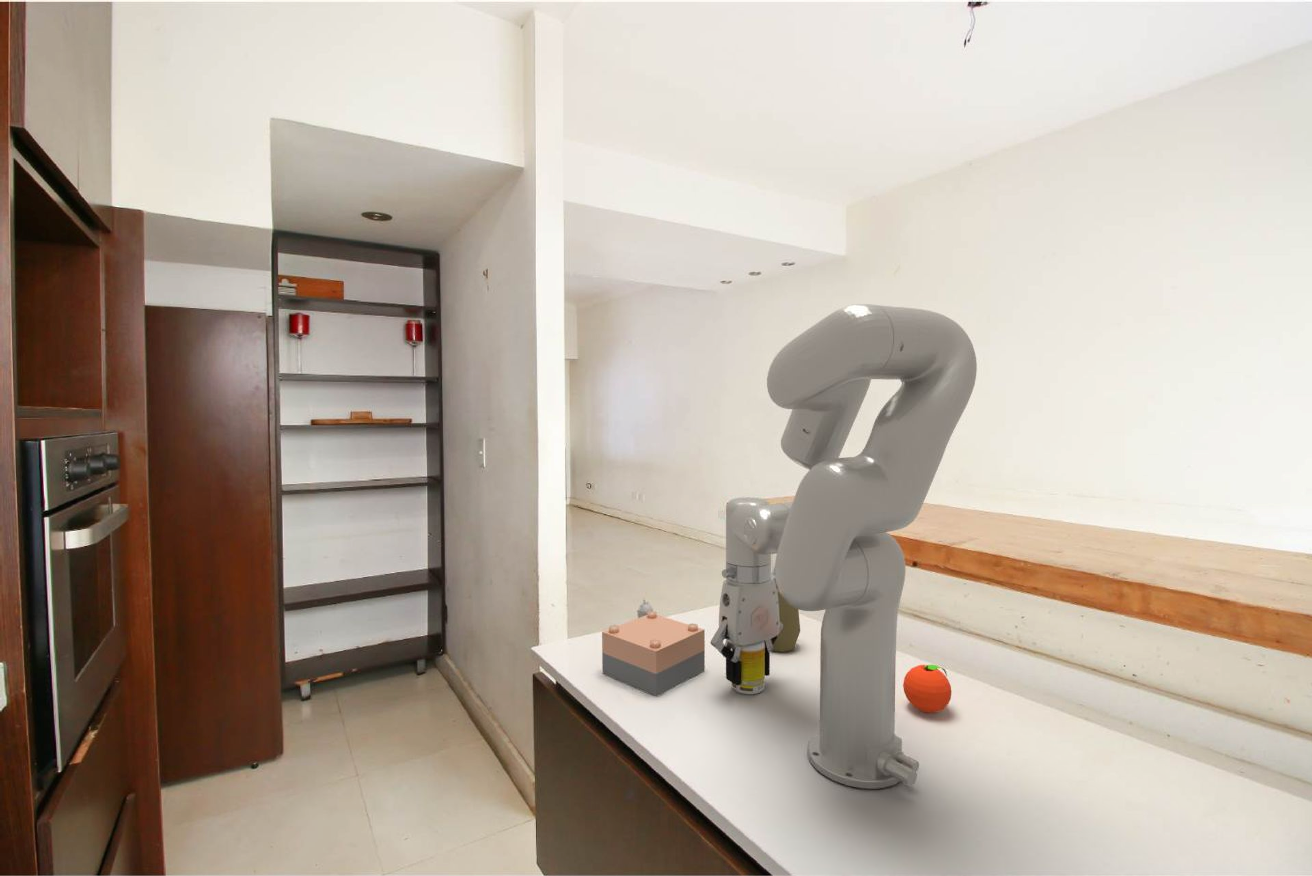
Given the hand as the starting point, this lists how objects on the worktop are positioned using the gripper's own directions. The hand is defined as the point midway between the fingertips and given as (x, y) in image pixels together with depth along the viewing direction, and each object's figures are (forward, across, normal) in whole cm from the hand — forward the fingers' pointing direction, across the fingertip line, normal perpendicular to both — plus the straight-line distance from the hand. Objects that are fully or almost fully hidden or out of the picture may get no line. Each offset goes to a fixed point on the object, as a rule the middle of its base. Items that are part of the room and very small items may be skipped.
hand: (747, 676), depth 103 cm
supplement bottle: (+2, 0, 0) cm, 2 cm away
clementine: (+2, +19, -21) cm, 28 cm away
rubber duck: (+2, -2, +29) cm, 29 cm away
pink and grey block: (+2, -10, +14) cm, 17 cm away
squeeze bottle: (+2, +17, +10) cm, 20 cm away
